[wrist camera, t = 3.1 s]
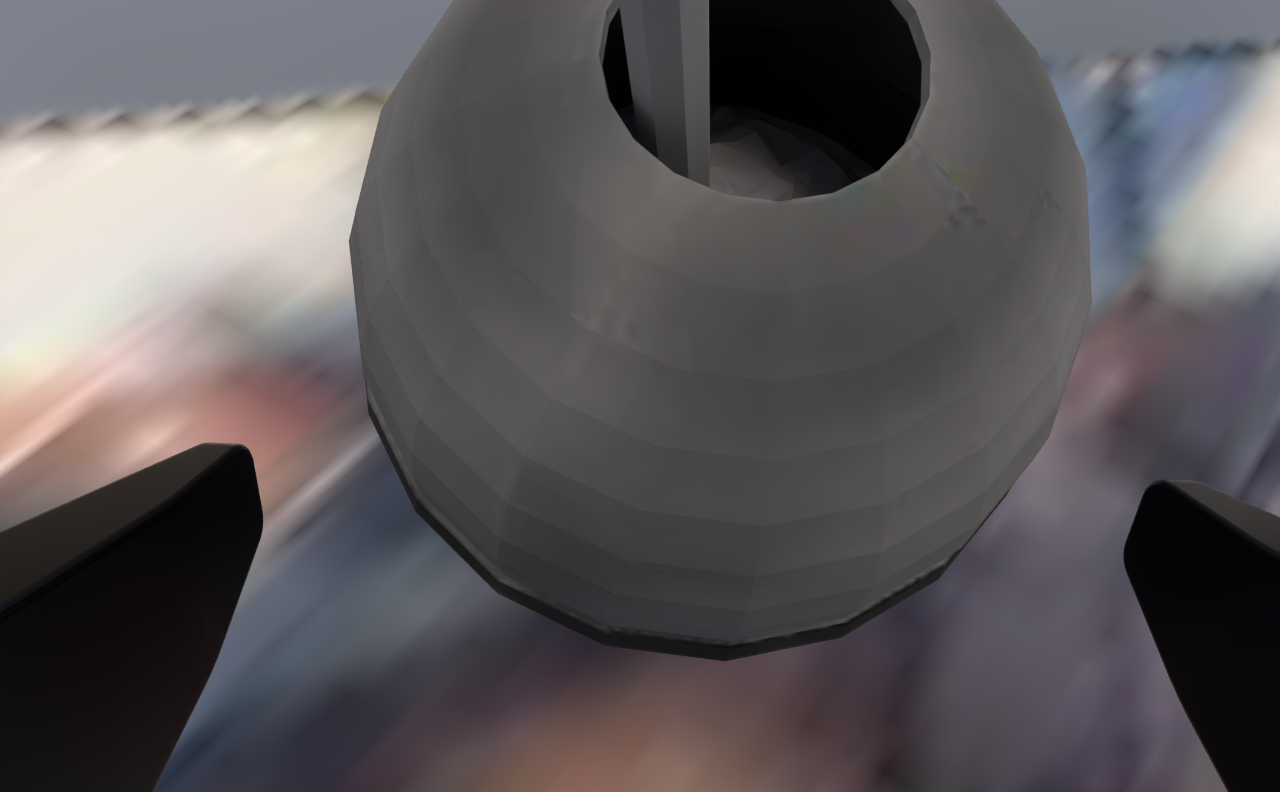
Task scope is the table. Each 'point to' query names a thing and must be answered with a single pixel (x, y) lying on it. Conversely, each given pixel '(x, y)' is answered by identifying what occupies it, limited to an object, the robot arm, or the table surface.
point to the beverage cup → (718, 303)
